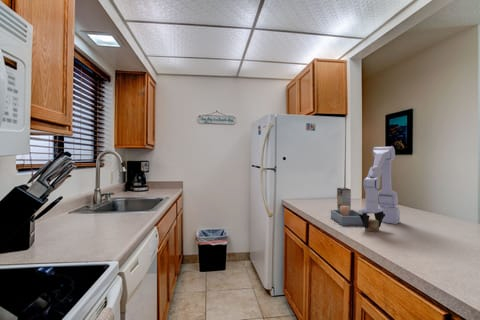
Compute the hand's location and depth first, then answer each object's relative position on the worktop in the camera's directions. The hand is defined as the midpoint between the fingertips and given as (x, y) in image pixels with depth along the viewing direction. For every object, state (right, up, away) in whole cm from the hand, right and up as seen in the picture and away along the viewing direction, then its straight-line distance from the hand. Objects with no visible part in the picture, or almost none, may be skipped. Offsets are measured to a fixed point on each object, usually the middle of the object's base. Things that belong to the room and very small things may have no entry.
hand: (371, 227), depth 126 cm
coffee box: (+5, -2, +46) cm, 46 cm away
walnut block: (0, -1, 0) cm, 1 cm away
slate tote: (-4, -1, +18) cm, 18 cm away
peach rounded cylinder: (-5, 0, +22) cm, 23 cm away
